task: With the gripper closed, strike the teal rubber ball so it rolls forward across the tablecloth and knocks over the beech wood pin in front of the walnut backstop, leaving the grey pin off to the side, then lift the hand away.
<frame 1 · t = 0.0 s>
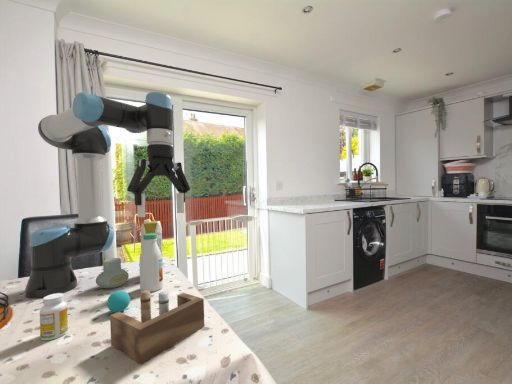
hand: (162, 214, 78), 28 cm above the table, tool pointing down, fingers open, 13 cm apart
milk bottle: (151, 289, 94), on the table
air freshener: (112, 286, 98), on the table
supplement bottle: (54, 335, 64), on the table
ball: (118, 301, 76), on the table
grey pin: (164, 325, 67), on the table
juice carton: (152, 276, 108), on the table
walnut backstop: (173, 341, 60), on the table
beech pin: (146, 324, 68), on the table
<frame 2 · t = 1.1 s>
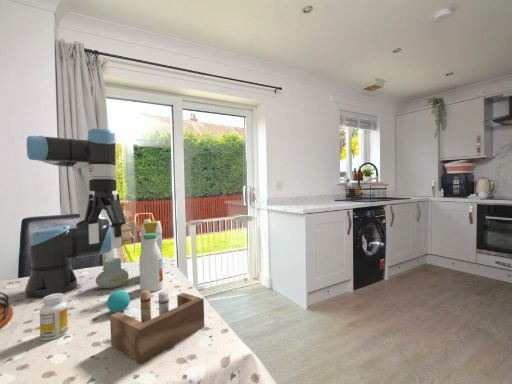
hand: (104, 245, 82), 19 cm above the table, tool pointing down, fingers open, 13 cm apart
nothing on the table moved.
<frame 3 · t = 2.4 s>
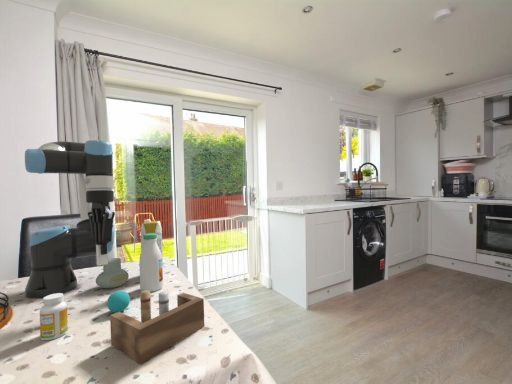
hand: (102, 264, 81), 13 cm above the table, tool pointing down, fingers closed
nothing on the table moved.
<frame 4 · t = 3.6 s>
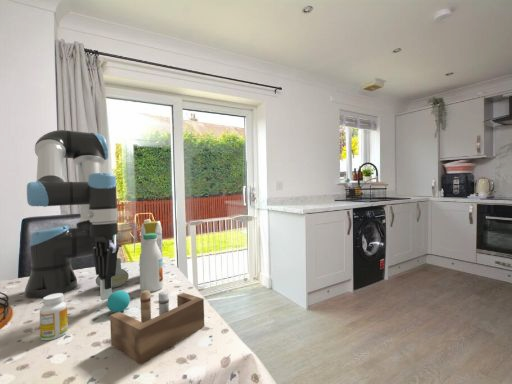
hand: (106, 298, 80), 2 cm above the table, tool pointing down, fingers closed
nothing on the table moved.
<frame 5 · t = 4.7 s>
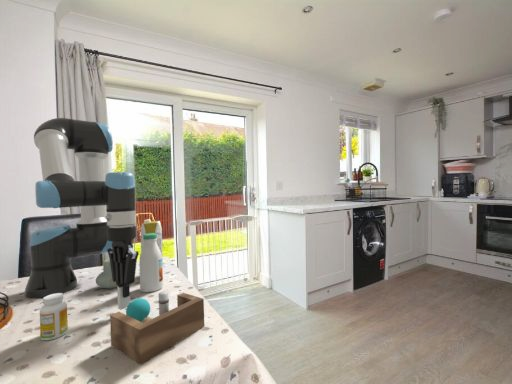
hand: (124, 307, 74), 2 cm above the table, tool pointing down, fingers closed
ball: (138, 310, 70), on the table
beech pin: (146, 321, 67), point 1 cm above the table, tilted 90°
everything else where it was.
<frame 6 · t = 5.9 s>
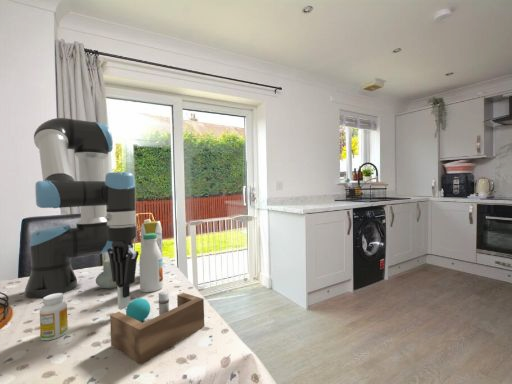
hand: (124, 307, 74), 2 cm above the table, tool pointing down, fingers closed
beech pin: (128, 328, 64), point 1 cm above the table, tilted 90°, touching walnut backstop
everything else where it was.
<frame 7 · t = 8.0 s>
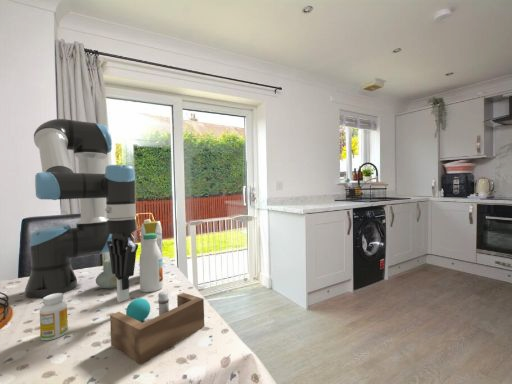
hand: (123, 299, 75), 4 cm above the table, tool pointing down, fingers closed
nothing on the table moved.
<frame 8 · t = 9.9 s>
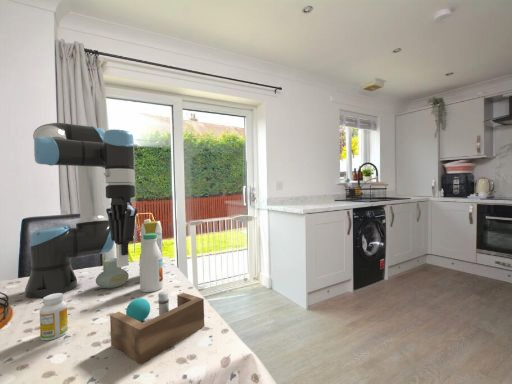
hand: (122, 265, 74), 14 cm above the table, tool pointing down, fingers closed
nothing on the table moved.
at the end: beech pin tilted 90°; beech pin never touched the robot; ball moved 10.8 cm from its start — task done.
